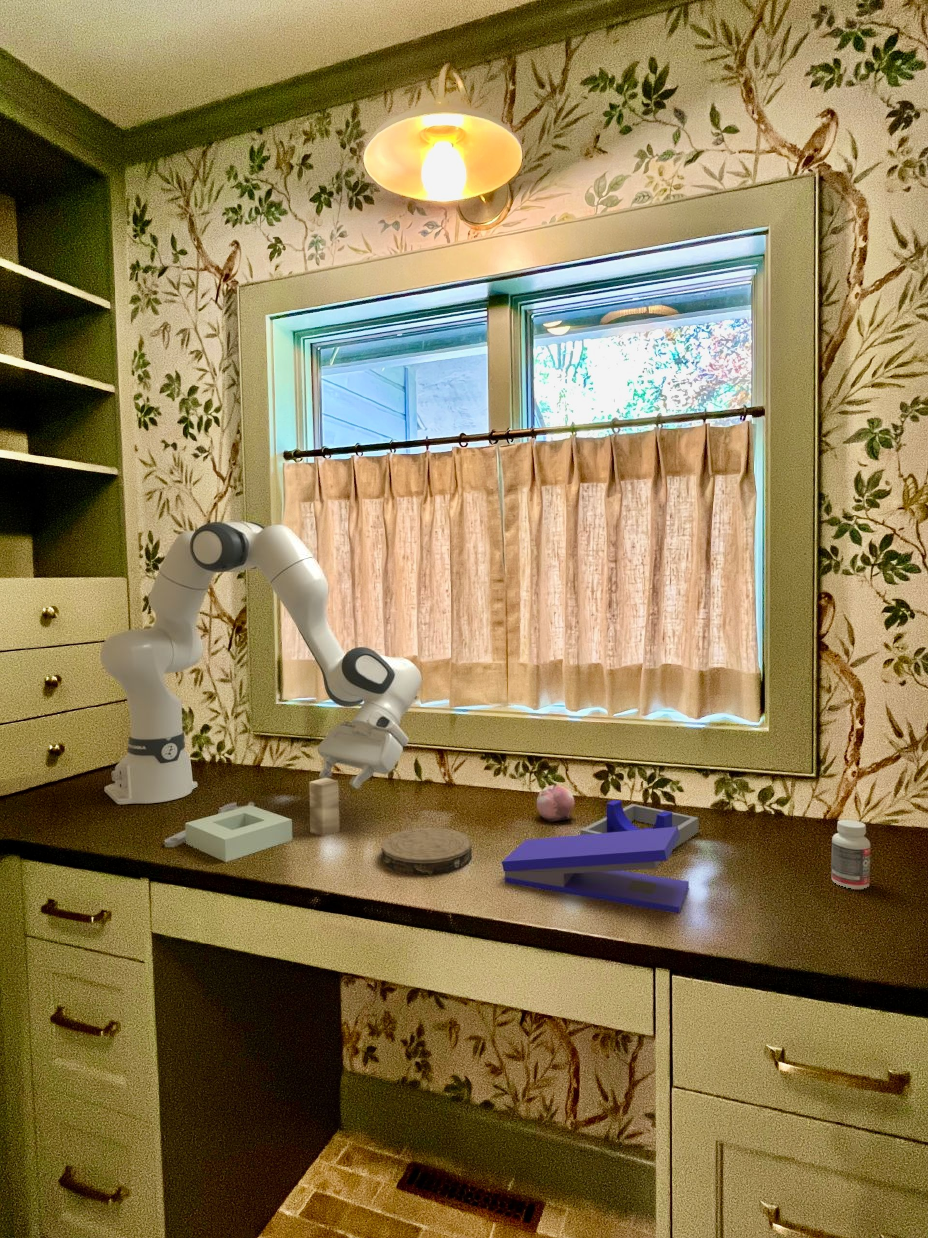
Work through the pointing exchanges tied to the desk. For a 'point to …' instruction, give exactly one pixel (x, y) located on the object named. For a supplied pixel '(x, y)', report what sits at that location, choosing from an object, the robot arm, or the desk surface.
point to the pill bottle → (851, 855)
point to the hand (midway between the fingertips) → (337, 782)
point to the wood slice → (426, 851)
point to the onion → (555, 803)
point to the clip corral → (649, 815)
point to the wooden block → (324, 806)
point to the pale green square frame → (238, 832)
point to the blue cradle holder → (621, 823)
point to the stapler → (601, 867)
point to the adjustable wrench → (181, 836)
